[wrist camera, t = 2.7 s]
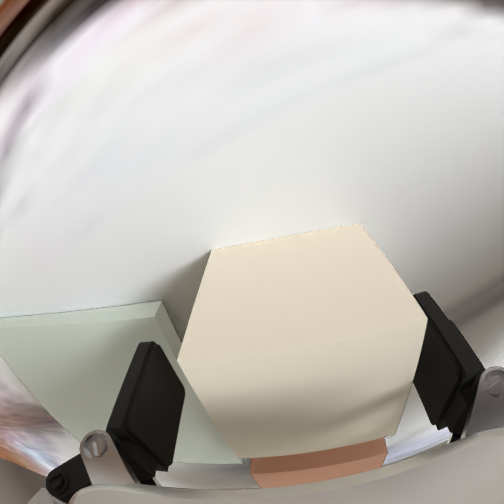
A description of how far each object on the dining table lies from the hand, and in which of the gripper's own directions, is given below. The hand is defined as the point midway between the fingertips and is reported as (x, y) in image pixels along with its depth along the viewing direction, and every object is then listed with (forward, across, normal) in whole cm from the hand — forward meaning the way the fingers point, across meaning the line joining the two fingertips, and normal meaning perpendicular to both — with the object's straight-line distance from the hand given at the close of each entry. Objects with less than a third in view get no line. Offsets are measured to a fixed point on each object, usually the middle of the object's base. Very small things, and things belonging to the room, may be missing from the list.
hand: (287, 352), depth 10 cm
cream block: (+3, -1, 0) cm, 3 cm away
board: (+3, +13, +7) cm, 15 cm away
